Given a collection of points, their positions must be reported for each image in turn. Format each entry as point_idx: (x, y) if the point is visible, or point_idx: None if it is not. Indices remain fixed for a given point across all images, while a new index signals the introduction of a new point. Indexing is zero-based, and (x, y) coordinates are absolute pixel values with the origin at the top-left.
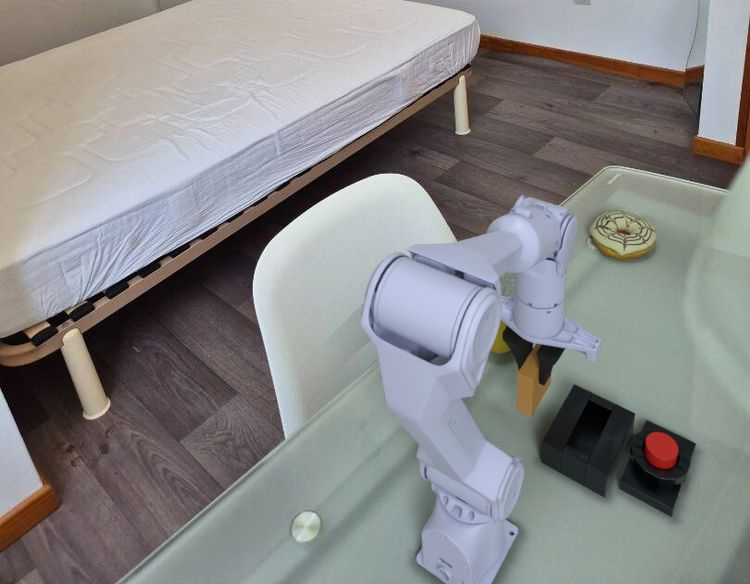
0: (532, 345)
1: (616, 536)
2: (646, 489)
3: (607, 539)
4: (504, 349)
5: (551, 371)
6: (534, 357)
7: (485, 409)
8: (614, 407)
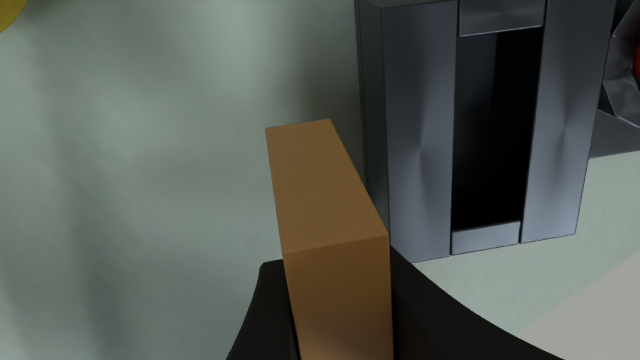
0: (288, 331)
1: (564, 239)
2: (628, 138)
3: (550, 255)
4: (22, 8)
5: (396, 250)
6: (335, 354)
7: (153, 191)
8: (548, 7)
